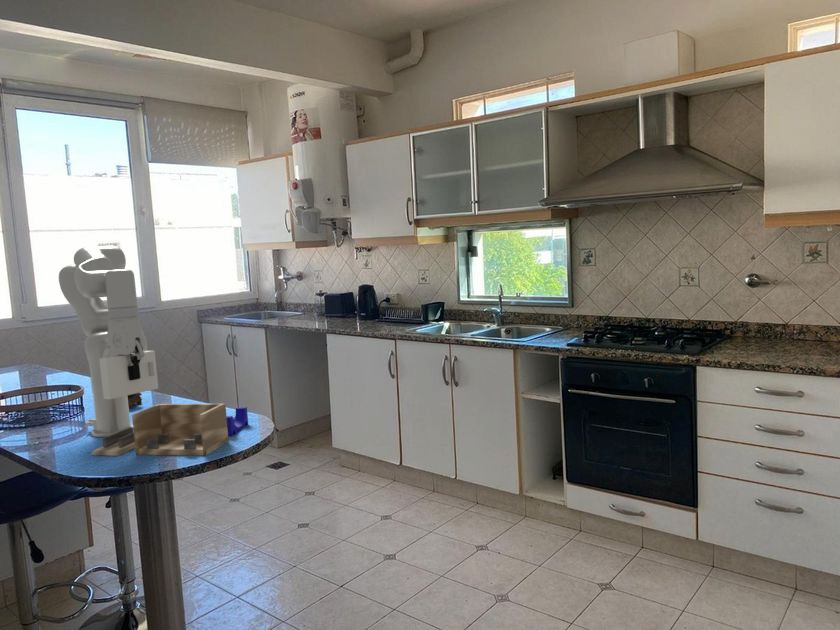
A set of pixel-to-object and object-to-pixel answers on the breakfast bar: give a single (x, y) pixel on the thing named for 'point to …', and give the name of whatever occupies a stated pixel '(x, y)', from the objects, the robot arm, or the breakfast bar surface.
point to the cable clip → (237, 421)
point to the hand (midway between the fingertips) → (130, 378)
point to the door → (118, 378)
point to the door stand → (117, 443)
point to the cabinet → (180, 429)
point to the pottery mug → (134, 399)
